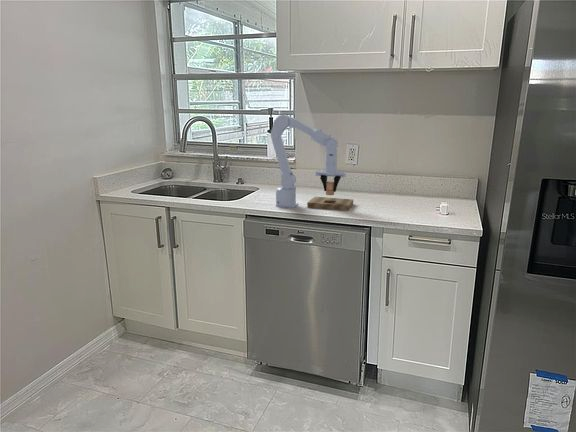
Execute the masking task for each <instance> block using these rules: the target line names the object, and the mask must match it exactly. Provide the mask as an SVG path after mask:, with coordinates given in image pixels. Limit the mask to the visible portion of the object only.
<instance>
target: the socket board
mask: <svg viewBox="0 0 576 432" xmlns="http://www.w3.org/2000/svg"><path fill="white" fill-rule="evenodd" d="M353 205H354V198H353V199H352V198H350V199H349V198H339V197H337V198H336V197H328V196H327V197H325V196H324V197H323V196H314V197H312V198H311V199H309V200H308V201H307V205H306V207H307V208H310V209H322V210H334V211H342V212H344V211H346V212H348V211H349V210H350V209H351V208H352V206H353Z"/></svg>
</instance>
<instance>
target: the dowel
mask: <svg viewBox="0 0 576 432" xmlns="http://www.w3.org/2000/svg"><path fill="white" fill-rule="evenodd" d="M325 195H326V196H334V195H335V192H334V181H327V182H326V191H325Z"/></svg>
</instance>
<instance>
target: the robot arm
mask: <svg viewBox="0 0 576 432" xmlns="http://www.w3.org/2000/svg"><path fill="white" fill-rule="evenodd" d="M272 122H273V124H272V128H271V131H270V138H271V142H272V145H273V149H274V151H275V155H276V160H277V163H278V167H279V170H280V177H281V178H280V179H281V181H280V185H281V187H277V188H276V192H275V207H278V208H280V207H281V208H290V209H292V208H295V207H296V206H298V205H299V203H297V202H296V201H297V195H296V193H297V187H296V186H295V184H296V182H297V179H296V175H295V174H294V173H293V171H292V168H291V167H290V162H289V159H288V156H287V153H286V148H285V145H284V141H283V138H282V135H283V134H284V132H285V130H287V129H288V128H289V129H291V128H292V129H297V130H299V131H301V132H303V133H305V134H307V135H308V136H310V139H311V141H314V142H315V143H316V144H318V145H320V146H322V147H325V153H324V171H320V170H319V171H315V176H317V177H320V181H321V183H322V186H323V190H324V192H326V182H328V177H333V182H334V193H335V192H337V189H338V184H339V182H340V180H341V178H346V177H347V172H340V171H338V146H339V145H338V140H337V139H336V138H335V137H334V136H332V135H331V134H327V133H326V132H324V131H323V129H321V128H320V129H319V128H315V129H313V128H311V127H310V126H309V125H306V123H304V122H301V121H300V120H299V119H297V118H294V117H293V116H289V115H288V114H280V115H278V116H277V117H276V119H274V121H272Z"/></svg>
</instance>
